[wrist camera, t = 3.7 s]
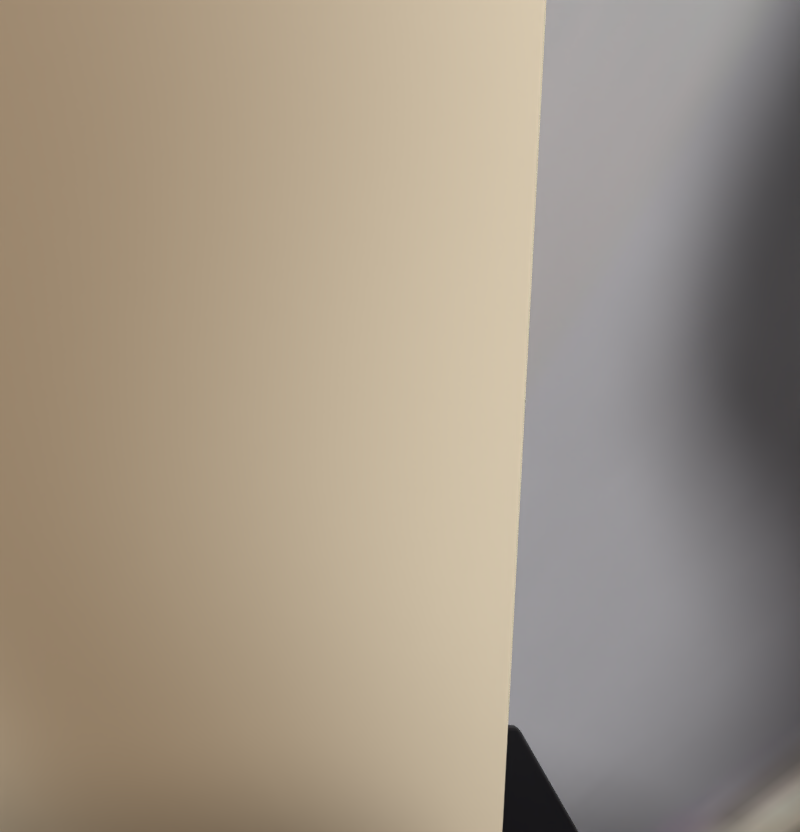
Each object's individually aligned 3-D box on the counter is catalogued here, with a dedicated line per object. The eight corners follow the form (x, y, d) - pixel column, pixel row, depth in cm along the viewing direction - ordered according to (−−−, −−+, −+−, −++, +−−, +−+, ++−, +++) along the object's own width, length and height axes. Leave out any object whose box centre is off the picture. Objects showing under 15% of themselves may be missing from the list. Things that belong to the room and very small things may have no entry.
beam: (501, -29, 6) (557, -248, 3) (468, 1024, 12) (472, 1404, 9) (69, -13, 7) (-440, -183, 3) (247, 1006, 13) (162, 1365, 9)
